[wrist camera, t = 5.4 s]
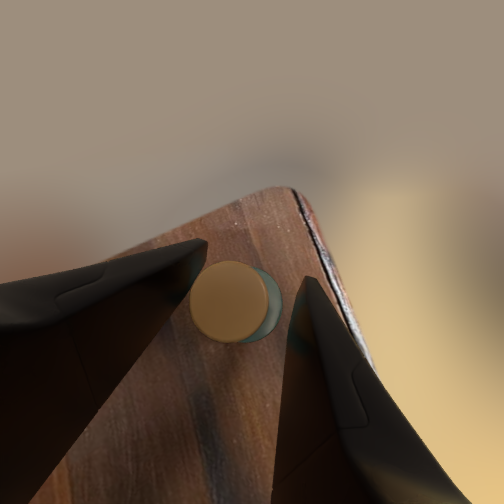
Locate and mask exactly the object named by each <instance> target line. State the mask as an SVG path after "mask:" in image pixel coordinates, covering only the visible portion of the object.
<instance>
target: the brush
mask: <svg viewBox="0 0 504 504" xmlns="http://www.w3.org/2000/svg"><path fill="white" fill-rule="evenodd" d="M282 307H283V301H282V295H281V291H280V289H279V287H278V285H277V283H276V282H275V280H274V279H273V278H272V277H271V276H270V275H269V274H268V273H266V272H265V271H263V270H261V269H258V268H255V267H251V266H248V265H246V264H244V263H241V262H237V261H222V262H218V263H215V264H213V265H211V266H209V267H208V268H206V269H205V270H204V271H203V272H202V273H201V274H200V275H199V276H198V277H197V279H196V280H195V282H194V284H193V286H192V288H191V291H190V296H189V310H190V314H191V317H192V320H193V322H194V324H195V325H196V327H197V328H198V329H199V330H200V331H201V332H202V333H203V334H204V335H205V336H206V337H208V338H210V339H212V340H214V341H217V342H222V343H234V342H242V343H248V342H254V341H257V340H260V339H262V338H264V337H265V336H267V335H268V334H269V333H270V332H272V330H273V329H274V328H275V327H276V325H277V324H278V322H279V319H280V317H281V314H282Z"/></svg>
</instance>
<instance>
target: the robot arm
mask: <svg viewBox="0 0 504 504" xmlns="http://www.w3.org/2000/svg"><path fill="white" fill-rule="evenodd" d="M207 249H208V242H207V241H205V240H202V239H199V238H197V239H193V240H189V241H185V242H181V243H177V244H173V245H169V246H165V247H161V248H157V249H153V250H149V251H146V252H142V253H138V254H134V255H130V256H126V257H122V258H118V259H114V260H110V261H109V262H102V263H98V264H94V265H90V266H86V267H82V268H78V269H73V270H69V271H64V272H59V273H55V274H49V275H44V276H39V277H33V278H28V279H23V280H18V281H13V282H8V283H3V284H0V504H28V503H29V502H30V501H31V499H32V498H33V497H34V495H35V494H36V493H37V491H38V490H39V489H40V487H41V486H42V485H43V483H44V482H45V481H46V479H47V478H48V477H49V475H50V474H51V473H52V472H53V470H54V469H55V468H56V466H57V465H58V464H59V462H60V461H61V460H62V458H63V457H64V456H65V454H66V453H67V452H68V450H69V449H70V448H71V447H72V445H73V444H74V443H75V441H76V440H77V439H78V437H79V436H80V435H81V433H82V432H83V431H84V429H85V428H86V427H87V425H88V424H89V423H90V421H91V420H92V419H93V418H94V416H95V415H96V414H97V412H98V409H100V408H101V407H102V405H103V404H104V403H105V401H106V400H107V399H108V398H109V396H110V395H111V394H112V392H113V391H114V390H115V388H116V387H117V386H118V384H119V383H120V382H121V380H122V379H123V378H124V376H125V375H126V374H127V373H128V371H129V370H130V369H131V367H132V366H133V365H134V363H135V362H136V361H137V359H138V358H139V357H140V355H141V354H142V353H143V351H144V350H145V349H146V347H147V346H148V345H149V344H150V342H151V341H152V340H153V338H154V337H155V336H156V334H157V333H158V332H159V330H160V329H161V328H162V326H163V325H164V324H165V322H166V321H167V320H168V319H169V317H170V316H171V315H172V313H173V312H174V311H175V309H176V308H177V307H178V305H179V304H180V303H181V301H182V300H183V299H184V297H185V296H186V295H187V293H188V291H189V290H190V288H191V286H192V285H193V283H194V281H195V280H196V278H197V276H198V274H199V273H200V271H201V269H202V268H203V266H204V264H205V262H206V257H207ZM363 357H364V355H363V353H362V351H361V350H360V348H359V347H358V345H357V343H356V342H355V340H354V338H353V337H352V335H351V334H350V332H349V330H348V329H347V327H346V326H345V324H344V322H343V321H342V319H341V317H340V316H339V314H338V313H337V311H336V309H335V308H334V306H333V305H332V303H331V301H330V300H329V298H328V296H327V295H326V293H325V292H324V290H323V288H322V287H321V285H320V284H319V282H318V280H317V279H316V278H313V277H310V276H305V277H304V279H303V281H302V283H301V285H300V288H299V290H298V292H297V295H296V299H295V303H294V307H293V312H292V316H291V320H290V324H289V329H288V336H287V345H286V355H285V365H284V375H283V385H282V395H281V405H280V415H279V425H278V435H277V446H276V456H275V466H274V476H273V486H272V488H273V490H272V495H271V504H472V503H471V502H470V501H469V500H468V499H467V498H466V497H465V496H464V495H463V494H462V492H461V491H460V490H459V489H458V488H457V487H456V485H455V484H454V483H453V482H452V480H451V479H450V478H449V476H448V475H447V474H446V472H445V471H444V470H443V468H442V467H441V466H440V464H439V463H438V461H437V460H436V459H435V457H434V456H433V455H432V453H431V452H430V450H429V449H428V448H427V446H426V445H425V444H424V442H423V441H422V439H421V438H420V437H419V435H418V434H417V433H416V431H415V430H414V429H413V427H412V426H411V424H410V423H409V421H408V420H407V419H406V417H405V416H404V415H403V413H402V412H401V410H400V409H399V408H398V406H397V405H396V403H395V402H394V400H393V399H392V398H391V396H390V395H389V393H388V392H387V390H386V389H385V388H384V386H383V384H382V383H381V381H380V380H379V378H378V377H377V375H376V374H375V372H374V371H373V369H372V367H371V366H370V364H369V363H368V361H367V359H366V358H363Z"/></svg>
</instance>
